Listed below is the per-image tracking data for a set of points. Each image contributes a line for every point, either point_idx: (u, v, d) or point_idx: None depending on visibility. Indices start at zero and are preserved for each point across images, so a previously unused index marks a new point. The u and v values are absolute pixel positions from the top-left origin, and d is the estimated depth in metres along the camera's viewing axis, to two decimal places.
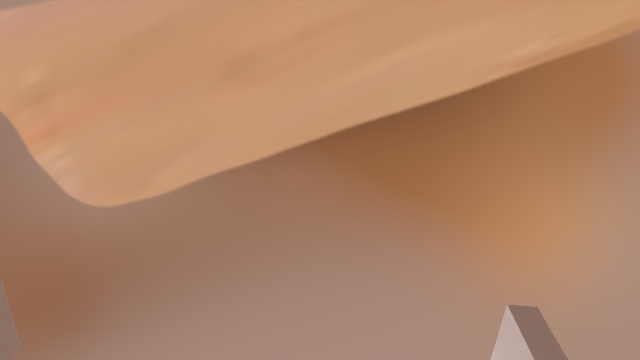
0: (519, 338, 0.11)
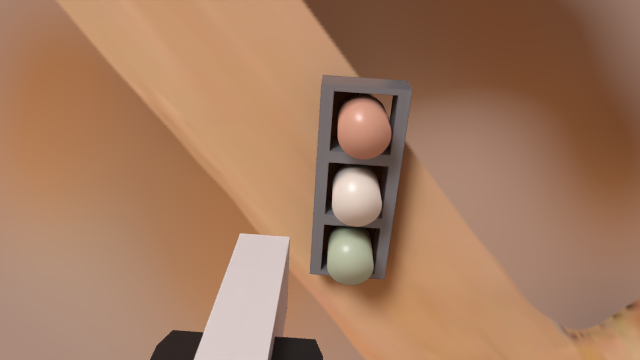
0: (259, 258, 0.13)
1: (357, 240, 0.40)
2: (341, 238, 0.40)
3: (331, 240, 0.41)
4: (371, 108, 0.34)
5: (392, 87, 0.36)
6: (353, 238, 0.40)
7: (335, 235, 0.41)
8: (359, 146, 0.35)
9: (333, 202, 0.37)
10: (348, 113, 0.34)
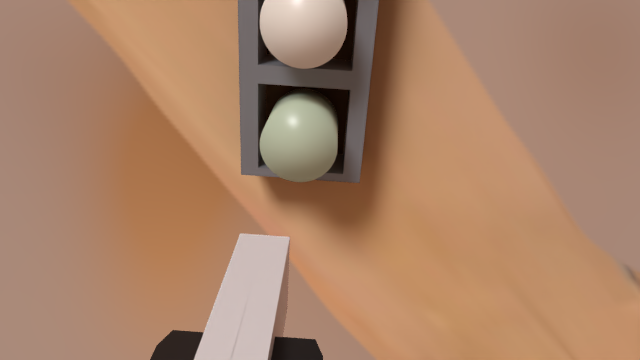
0: (259, 258, 0.13)
1: (310, 104, 0.24)
2: (285, 103, 0.24)
3: (271, 112, 0.25)
4: None
5: None
6: (304, 102, 0.24)
7: (277, 104, 0.25)
8: None
9: (262, 19, 0.21)
10: None
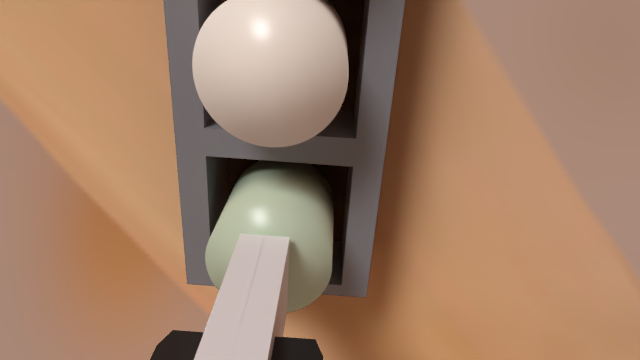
0: (259, 258, 0.13)
1: (288, 194, 0.15)
2: (248, 189, 0.15)
3: (229, 198, 0.16)
4: None
5: None
6: (279, 188, 0.15)
7: (239, 184, 0.16)
8: None
9: (196, 65, 0.12)
10: None
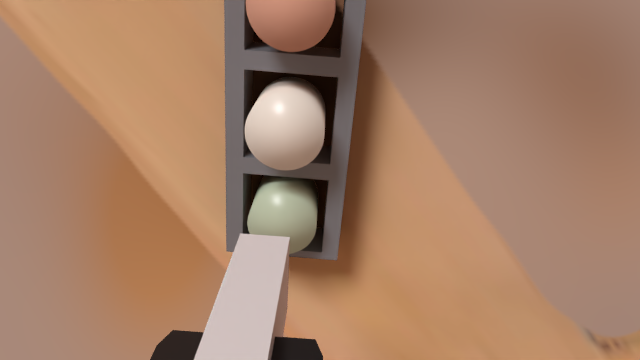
0: (259, 258, 0.13)
1: (293, 187, 0.27)
2: (270, 184, 0.27)
3: (258, 189, 0.28)
4: None
5: None
6: (287, 184, 0.27)
7: (263, 182, 0.28)
8: (284, 28, 0.21)
9: (246, 128, 0.23)
10: None
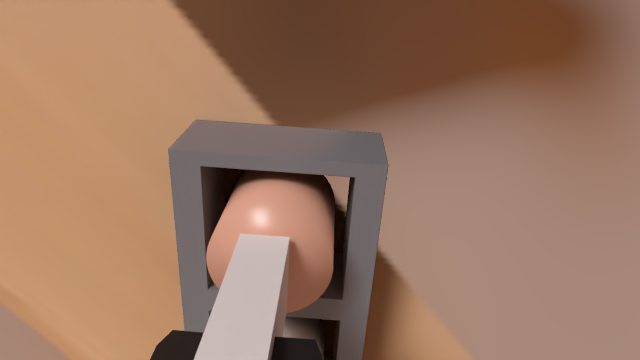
0: (259, 258, 0.13)
1: None
2: None
3: None
4: (282, 206, 0.14)
5: (341, 156, 0.15)
6: None
7: None
8: None
9: None
10: (228, 217, 0.14)
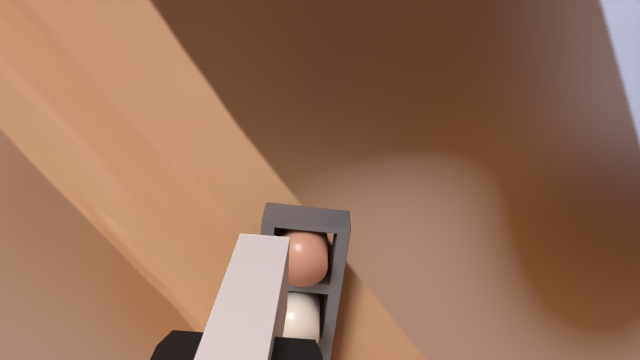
0: (259, 258, 0.13)
1: None
2: None
3: None
4: (309, 243, 0.35)
5: (332, 224, 0.36)
6: None
7: None
8: (298, 276, 0.36)
9: None
10: None
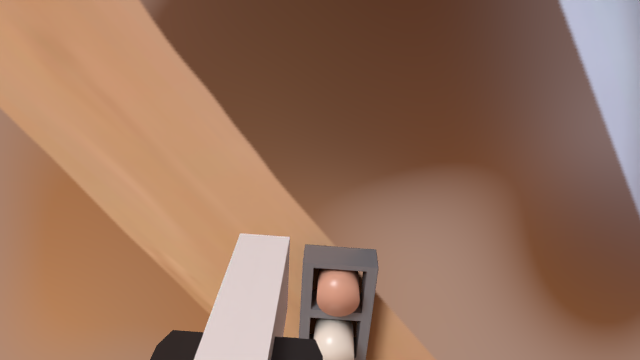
0: (259, 258, 0.13)
1: None
2: None
3: None
4: (343, 281, 0.42)
5: (362, 264, 0.43)
6: None
7: None
8: (334, 308, 0.43)
9: None
10: (325, 284, 0.42)
